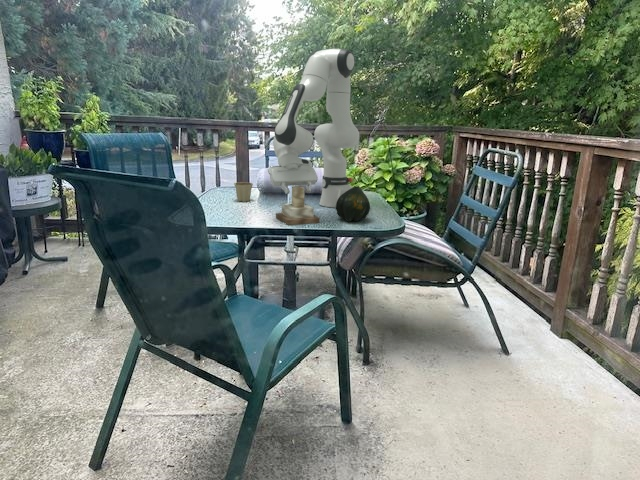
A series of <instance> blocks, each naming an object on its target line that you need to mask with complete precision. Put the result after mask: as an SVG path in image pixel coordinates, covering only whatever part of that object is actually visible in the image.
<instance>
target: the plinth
mask: <svg viewBox="0 0 640 480" xmlns="http://www.w3.org/2000/svg"><path fill="white" fill-rule="evenodd" d="M314 212H315V211H314V207H313V206H310V205H308V204H306V203H304V207H293V206H292V203H287V204H281V212H276V213H275V218H276V220H278V221H280V222H282V223H283V222H284V223H283V224H285V223H286V224H285V225H287V226H294V225H296V226H297V225H308V224H309V225H310V224H319V223H321V222H320V221H321V219H320V217H318V216H316V215H314Z"/></svg>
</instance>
